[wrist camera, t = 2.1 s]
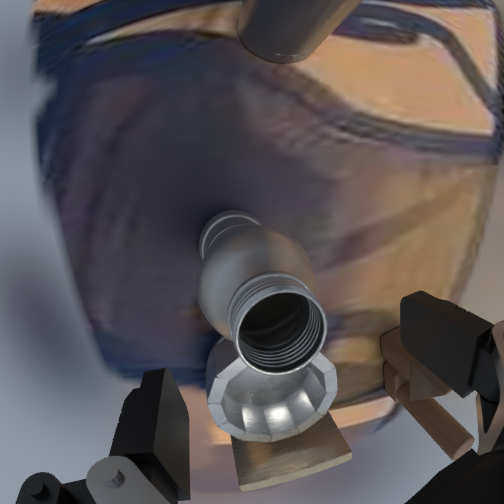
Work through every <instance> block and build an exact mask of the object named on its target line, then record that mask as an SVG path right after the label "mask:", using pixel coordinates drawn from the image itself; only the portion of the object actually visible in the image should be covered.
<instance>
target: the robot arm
mask: <svg viewBox="0 0 504 504" xmlns="http://www.w3.org/2000/svg"><path fill="white" fill-rule="evenodd" d="M362 1H363V0H243V2H242V6H241V10H240V14H239V18H238V22H237V31H238V35H239V37H240V39H241V41H242V43H243V44H244V45H245V46H246V47H247V48H248V49H249V50H250V51H251V52H253V53H254V54H255V55H257V56H259V57H261V58H263V59H266V60H269V61H272V62H277V63H293V62H298V61H301V60H303V59H305V58H307V57H308V56H310V55H311V54H312V53H313V52H314V51H315V49H316V48H317V47H318V46H319V45H320V44H321V43H322V42H323V41H324V40H325V39H326V38H327V37H328V36H329V35H330V34H331V33H332V32H333V30H334V29H335V28H336V27H337V26H338V25H339V24H340V23H341V22H342V21H343V20H344V19H345V18H346V17H347V16H348V15H349V14H350V13H351V12H352V11H353V10H354V9H355V8H356V7H357V6H358V5H359V4H360V3H361V2H362ZM400 338H401V342H402V345H403V347H404V349H405V350H406V351H407V352H408V353H409V354H411V355H412V356H413V357H414V358H415V359H417V360H418V361H419V362H420V363H421V364H423V365H424V366H425V367H426V368H427V369H429V370H430V371H431V372H432V373H433V374H435V375H436V376H437V377H438V378H439V379H441V380H442V381H443V382H444V383H445V384H447V385H448V386H449V387H450V388H451V389H452V390H454V391H455V392H456V393H457V394H458V395H460V396H461V397H462V398H465V397H466V396H467V395H469V394H470V393H471V392H473V391H474V390H475V391H477V392H478V393H477V396H476V408H477V419H478V432H479V446H478V451H477V453H476V452H475V451H474V450H473V449H470V450H469V451H468V452H466V453H465V454H464V455H462V456H461V457H460V458H458V459H457V460H455V461H454V462H453V463H451V464H450V465H448V466H447V467H445V468H444V469H442V470H441V471H439V472H438V473H437V474H436V475H435V476H434V477H433V478H432V479H431V480H430V481H429V482H428V483H427V484H426V485H425V486H424V487H423V488H422V489H421V490H420V491H418V492H417V493H416V494H415V495H414V496H413V497H412V498H411V499H410V500H408V501H407V502H406V503H405V504H504V320H503V321H500V322H498V323H496V324H495V325H494V324H492V323H490V322H488V321H486V320H484V319H482V318H480V317H478V316H477V315H475V314H473V313H471V312H469V311H468V312H467V311H466V310H465V309H463V308H461V307H458V306H457V305H455V304H453V303H451V302H449V301H447V300H442V299H438V298H436V297H434V296H432V295H430V294H428V293H426V292H424V291H417V292H415V293H413V294H410V295H408V296H405V297H403V298H402V300H401V303H400ZM121 412H122V413H121V414H120V417H119V423H118V424H117V428H116V431H115V435H114V439H113V442H112V446H111V450H110V454H109V457H106V458H104V459H101V460H100V461H98V462H96V463H95V464H94V465H93V466H92V467H91V469H90V470H89V471H88V474H87V477H86V479H83V480H79V481H74V482H70V483H65V484H62V483H61V482H60V481H59V480H58V479H57V478H56V477H55V476H53V475H52V474H49V473H45V472H40V473H36V474H34V475H32V476H30V477H29V478H27V479H26V481H25V482H24V483H23V485H22V487H21V489H20V492H19V495H18V498H17V501H16V504H178V501H184V500H190V466H189V415H188V411H187V407H186V404H185V402H184V400H183V398H182V396H181V393H180V391H179V389H178V387H177V385H176V382H175V380H174V378H173V376H172V373H171V371H170V370H169V369H168V368H162V369H156V370H151V371H146V372H144V375H143V379H142V382H141V386H140V388H136V389H133V390H132V391H131V393H130V394H129V395H128V396H127V398H126V399H125V400H124V404H123V407H122V410H121Z"/></svg>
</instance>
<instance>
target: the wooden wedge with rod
mask: <svg viewBox="0 0 504 504" xmlns="http://www.w3.org/2000/svg"><path fill="white" fill-rule="evenodd" d="M380 339H381V349H382V356H383V357H384V358H385V359H386V360H387V361H386V363H385V364H384V366H383V369H384V383H385V391H386V392H387V393H388V394H389V395H390V397H391V398H392V399H393V400H394V401H395V402H398V401H399V402H400V403H401V404H402V405H403V406H404V407H405V408H406V409H407V411H408V412H409V413H410V414H411V415H412V416H413V417H414V418H415V419H416V421H417V422H418V423H419V424H420V425H421V426H422V427H423V428H424V429H425V430H426V432H427V433H428V434H429V435H430V436H431V437H432V438H433V439H434V441H435V442H436V443H437V444H438V445H439V446H440V447H441V448H442V450H443V451H444V452H445V453H446V454H447V455H448V456H449V457H450V458H451V459H452V460H457V459H458V458H460V457H461V456H462V455H464V454H465V453H466V452H467V451H468V450H469V449H470V448H471V446H472V445H473V443H474V440H475V439H474V437H473V436H472V435H471V434H470V433H469V432H468V431H467V430H466V429H465V428H464V427H463V426H462V425H461V424H460V423H459V422H457V420H455V419H454V418H453V417H452V416H451V415H450V414H449V413H448V412H447V411H446V410H445V409H444V408H443V407H442V406H441V405H440V404H438V402H437V401H436V400H435V399H434V398H432V397H437V396H442V395H446V394H448V393H449V392H451V391H452V389H451V388H450V387H449V386H448V385H447V384H445V383H444V382H443V381H442V380H441V379H439V378H438V377H437V376H436V375H435V374H433V373H432V372H431V371H430V370H429V369H427V368H426V367H425V366H424V365H423V364H421V363H420V362H419V361H418V360H417V359H415V358H414V357H413V356H412V355H411V354H409V353H408V352H407V351H406V350H405V349H404V347H403V345H402V342H401V338H400V327H398V328H396V329H394V330H392V331H390V332H388V333H386V334H384V335H382V336H381V338H380Z"/></svg>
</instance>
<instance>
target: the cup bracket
mask: <svg viewBox="0 0 504 504" xmlns="http://www.w3.org/2000/svg"><path fill="white" fill-rule="evenodd" d="M205 374H206V394H207V405H208V408H209V410H210V412H211V414H212V417H213V419H214V421H215V423H216V426H218V427H219V428H220V429H222V430H224V431H225V432H227V433H229V434H231V441H232V447H233V453H234V459H235V465H236V471H237V476H238V482H239V486H240V488H241V490H242V492H245V491H250V490H255V489H259V488H264V487H268V486H272V485H276V484H280V483H283V482H287V481H290V480H294V479H297V478H300V477H304V476H307V475H310V474H313V473H316V472H318V471H322V470H325V469H327V468H330V467H333V466H336V465H338V464H340V463H343V462H346V461H348V460H351V459H352V451H351V449H350V448H349V446H348V444H347V443H346V441H345V439H344V437H343V436H342V434H341V432H340V431H339V429H338V427H337V425H336V424H335V422H334V420H333V419H332V417H331V415H330V413H329V412H328V408H329V407H330V405H331V403H332V401H333V399H334V398H335V396H336V394H337V391H338V389H337V377H336V368H335V366H334V364H333V363H332V362H331V360H330V359H329V358H328V356H327V355H326V354H325V352H324V351H323V350H322V349H321V350H320V352H319V353H318V355H317V356H316V357H315V358H314V359H313V360H312V361H311V362H310V363H309V364H308V365H306V366H305V367H304V368H302V369H300V370H298V371H296V372H293V373H290V374H287V375H281V376H270V375H264V374H261V373H258V372H256V371H254V370H252V369H251V368H249V367H248V366H247V365H246V364H245V363H244V362H243V361H242V359H241V358H240V356H239V355H238V353H237V351H236V348H235V345H234V342H233V341H231V340H228V339H227V338H225V337H224V336H223V335H222V336H221V337H220V338H219V339H218V340H217V342H216V343H215V344H214V346H213V348H212V349H211V352H210V354H209V357H208V362H207V370H206V373H205Z"/></svg>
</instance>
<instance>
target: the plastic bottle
mask: <svg viewBox="0 0 504 504" xmlns="http://www.w3.org/2000/svg"><path fill="white" fill-rule="evenodd" d="M199 253H200V257H201V260H202V262H201V265H200V268H199V272H198V276H197V288H196V289H197V296H198V302H199V304H200V307H201V310H202V312H203V314H204V315H205V317H206V319H207V320H208V322H209V323H210V324H211V325H212V326H213V327H214V328H215V329H216V330H217V331H218V332H219V333H220V334H221V335H223V336H224V337H225V338H227V339H228V340H231V341H233V342H234V345H235V348H236V351H237V353H238V355H239V356H240V358H241V359H242V361H243V362H244V363H245V364H246V365H247V366H248V367H249V368H251V369H252V370H254V371H256V372H258V373H261V374H264V375H270V376H281V375H287V374H290V373H293V372H296V371H298V370H300V369H302V368H304V367H305V366H306V365H308V364H309V363H310V362H311V361H312V360H313V359H314V358H315V357H316V356H317V355H318V353H319V352H320V350H321V349H322V347H323V344H324V342H325V339H326V335H327V319H326V315H325V312H324V310H323V308H322V306H321V304H320V303H319V301H318V300H317V299H316V298H315V297H314V296H315V278H314V273H313V269H312V265H311V262H310V260H309V258H308V256H307V254H306V252H305V251H304V249H303V248H302V246H301V245H300V244H299V243H298V242H297V241H296V240H295V239H294V238H293V237H291V236H290V235H288V234H286V233H285V232H283V231H281V230H278V229H275V228H272V227H268V226H263V225H262V224H261V223H260V221H259V220H258V219H256V218H255V217H254V216H252V215H251V214H249V213H247V212H244V211H240V210H227V211H224V212H221V213H219V214H217V215H215V216H214V217H213V218H211V219H210V220H209V221H208V222H207V224H206V225H205V226H204V228H203V230H202V232H201V235H200V239H199Z"/></svg>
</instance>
